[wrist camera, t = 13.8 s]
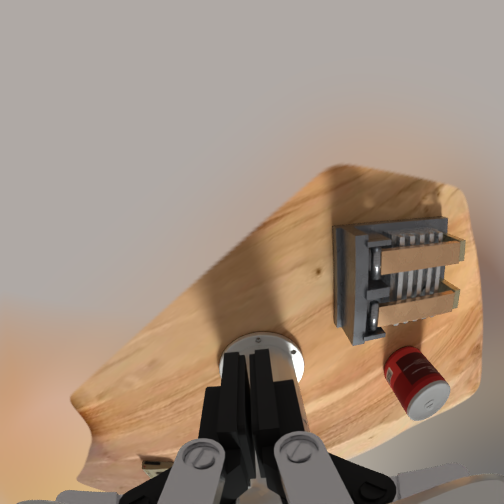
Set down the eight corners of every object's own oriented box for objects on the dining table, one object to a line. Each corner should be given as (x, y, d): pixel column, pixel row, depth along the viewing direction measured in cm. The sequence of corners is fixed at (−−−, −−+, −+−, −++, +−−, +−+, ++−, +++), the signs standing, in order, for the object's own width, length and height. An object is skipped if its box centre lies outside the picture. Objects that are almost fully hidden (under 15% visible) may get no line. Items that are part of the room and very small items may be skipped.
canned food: (395, 387, 44) (419, 426, 34) (374, 368, 43) (400, 411, 32) (426, 359, 43) (456, 394, 33) (408, 336, 42) (441, 374, 31)
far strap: (447, 311, 34) (451, 314, 33) (366, 327, 35) (369, 332, 33) (451, 286, 33) (455, 289, 32) (368, 301, 34) (371, 305, 32)
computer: (198, 491, 53) (197, 501, 50) (169, 490, 54) (167, 499, 50) (175, 460, 49) (173, 471, 46) (142, 459, 50) (139, 469, 46)
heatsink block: (435, 302, 40) (459, 321, 33) (334, 322, 40) (348, 348, 33) (441, 216, 37) (471, 225, 30) (332, 225, 37) (350, 237, 30)
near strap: (453, 264, 32) (458, 267, 31) (369, 276, 33) (372, 280, 32) (455, 236, 31) (461, 238, 30) (369, 245, 32) (373, 248, 31)
